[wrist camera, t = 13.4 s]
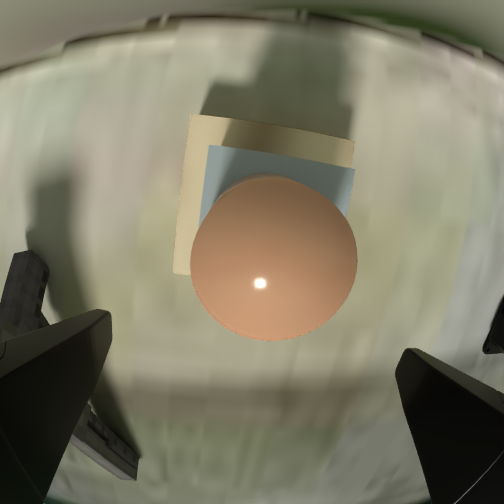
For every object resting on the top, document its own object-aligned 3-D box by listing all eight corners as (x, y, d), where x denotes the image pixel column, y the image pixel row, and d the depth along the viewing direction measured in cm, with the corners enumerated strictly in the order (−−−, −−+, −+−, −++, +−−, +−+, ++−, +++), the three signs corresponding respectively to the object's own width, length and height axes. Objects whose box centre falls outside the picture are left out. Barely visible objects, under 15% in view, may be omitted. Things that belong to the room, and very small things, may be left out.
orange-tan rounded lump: (339, 195, 12) (381, 215, 8) (299, 298, 13) (319, 354, 9) (227, 157, 11) (218, 158, 7) (193, 267, 12) (173, 316, 9)
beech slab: (341, 142, 19) (354, 141, 16) (315, 277, 21) (323, 292, 19) (197, 119, 18) (191, 113, 16) (180, 259, 21) (173, 272, 18)
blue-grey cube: (321, 164, 17) (355, 169, 11) (303, 260, 18) (326, 302, 13) (220, 148, 16) (208, 144, 11) (207, 246, 18) (192, 285, 13)
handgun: (46, 240, 20) (-23, 340, 11) (152, 414, 33) (143, 490, 24) (12, 248, 20) (-55, 339, 11) (123, 414, 33) (111, 486, 24)
